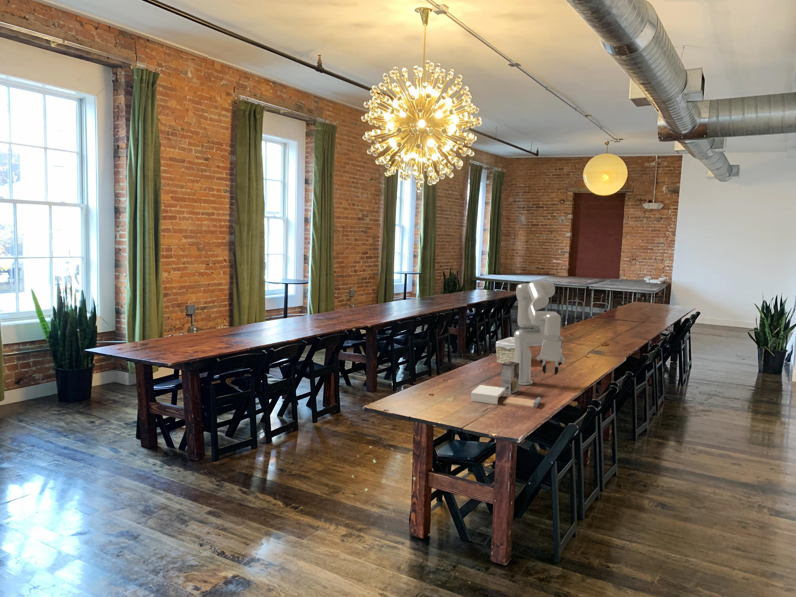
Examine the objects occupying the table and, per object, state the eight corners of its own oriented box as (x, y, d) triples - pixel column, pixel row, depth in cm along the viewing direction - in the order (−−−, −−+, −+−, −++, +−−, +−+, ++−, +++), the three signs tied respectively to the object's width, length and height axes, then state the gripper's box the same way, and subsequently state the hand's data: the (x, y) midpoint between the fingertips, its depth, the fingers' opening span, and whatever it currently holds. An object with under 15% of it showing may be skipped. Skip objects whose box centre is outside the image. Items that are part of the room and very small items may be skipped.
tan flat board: (508, 398, 310) (508, 393, 310) (540, 403, 303) (540, 397, 303) (503, 404, 300) (503, 398, 300) (536, 408, 293) (536, 403, 293)
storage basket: (515, 366, 386) (516, 344, 384) (493, 362, 395) (494, 341, 394) (530, 360, 405) (531, 339, 403) (509, 357, 415) (510, 336, 413)
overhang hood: (479, 392, 319) (480, 384, 319) (504, 396, 314) (505, 388, 313) (470, 400, 304) (471, 392, 303) (497, 404, 298) (497, 395, 298)
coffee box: (508, 388, 329) (509, 360, 327) (518, 391, 325) (519, 362, 323) (500, 392, 322) (501, 363, 320) (510, 394, 318) (511, 365, 316)
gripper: (570, 338, 292) (568, 374, 294) (536, 335, 299) (534, 370, 301) (568, 341, 285) (566, 377, 287) (533, 337, 292) (531, 373, 294)
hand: (550, 373), depth 294 cm, fingers open, 4 cm apart
